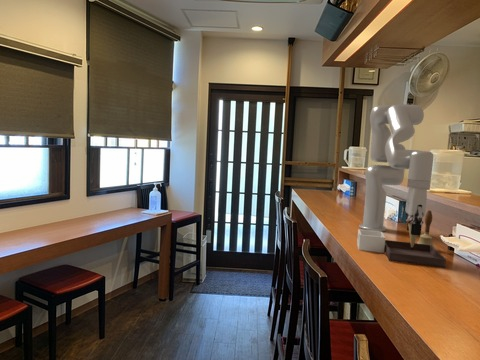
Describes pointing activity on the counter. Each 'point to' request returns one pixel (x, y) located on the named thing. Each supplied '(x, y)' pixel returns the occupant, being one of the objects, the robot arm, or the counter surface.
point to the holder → (371, 241)
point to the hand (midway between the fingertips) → (413, 232)
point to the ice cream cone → (412, 237)
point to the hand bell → (427, 231)
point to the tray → (413, 254)
